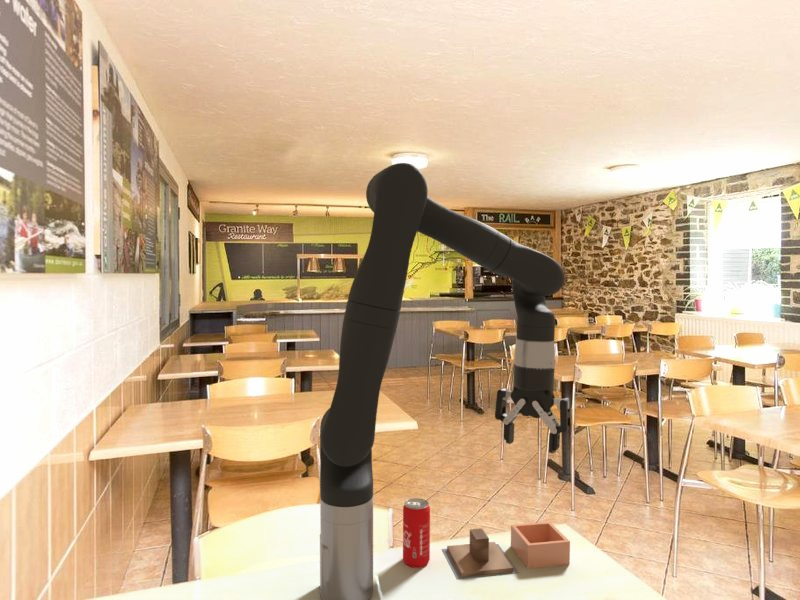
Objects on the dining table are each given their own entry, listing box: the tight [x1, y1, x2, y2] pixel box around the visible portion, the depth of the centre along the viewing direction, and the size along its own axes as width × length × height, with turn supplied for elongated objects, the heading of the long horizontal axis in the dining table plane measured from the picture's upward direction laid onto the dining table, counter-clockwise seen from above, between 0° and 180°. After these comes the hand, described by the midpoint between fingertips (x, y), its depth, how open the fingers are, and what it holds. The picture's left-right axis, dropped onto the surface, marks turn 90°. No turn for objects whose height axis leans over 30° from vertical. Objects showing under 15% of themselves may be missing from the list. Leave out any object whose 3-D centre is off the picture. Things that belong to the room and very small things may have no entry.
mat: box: [441, 543, 520, 580], centre depth 106 cm, size 12×11×1 cm
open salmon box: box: [510, 521, 571, 569], centre depth 108 cm, size 8×8×5 cm
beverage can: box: [402, 497, 431, 569], centre depth 105 cm, size 5×5×12 cm
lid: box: [446, 528, 513, 577], centre depth 106 cm, size 10×10×5 cm
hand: (530, 447), depth 104 cm, fingers open, 8 cm apart
